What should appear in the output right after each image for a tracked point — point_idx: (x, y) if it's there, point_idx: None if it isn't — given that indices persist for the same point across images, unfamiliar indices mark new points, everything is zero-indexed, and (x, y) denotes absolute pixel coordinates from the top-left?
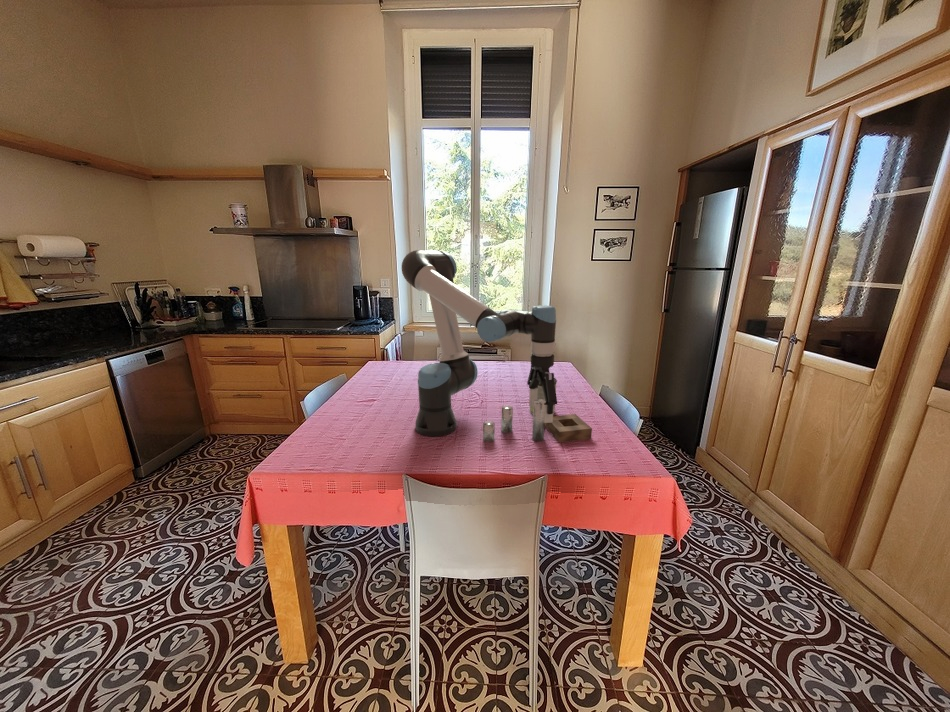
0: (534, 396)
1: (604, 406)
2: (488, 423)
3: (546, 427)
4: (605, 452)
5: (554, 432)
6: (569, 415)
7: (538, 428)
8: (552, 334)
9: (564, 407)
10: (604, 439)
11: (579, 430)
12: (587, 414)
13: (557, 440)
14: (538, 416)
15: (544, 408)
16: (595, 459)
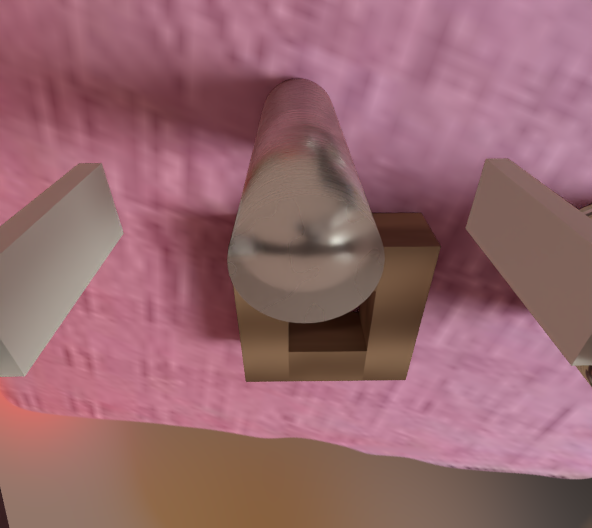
0: (528, 263)
1: (476, 459)
2: None
3: (404, 214)
4: (142, 342)
5: None
6: (402, 355)
7: (258, 129)
8: None
9: (558, 361)
10: (240, 374)
11: (240, 335)
12: (448, 402)
13: None
14: (250, 162)
15: (14, 238)
16: (83, 293)
